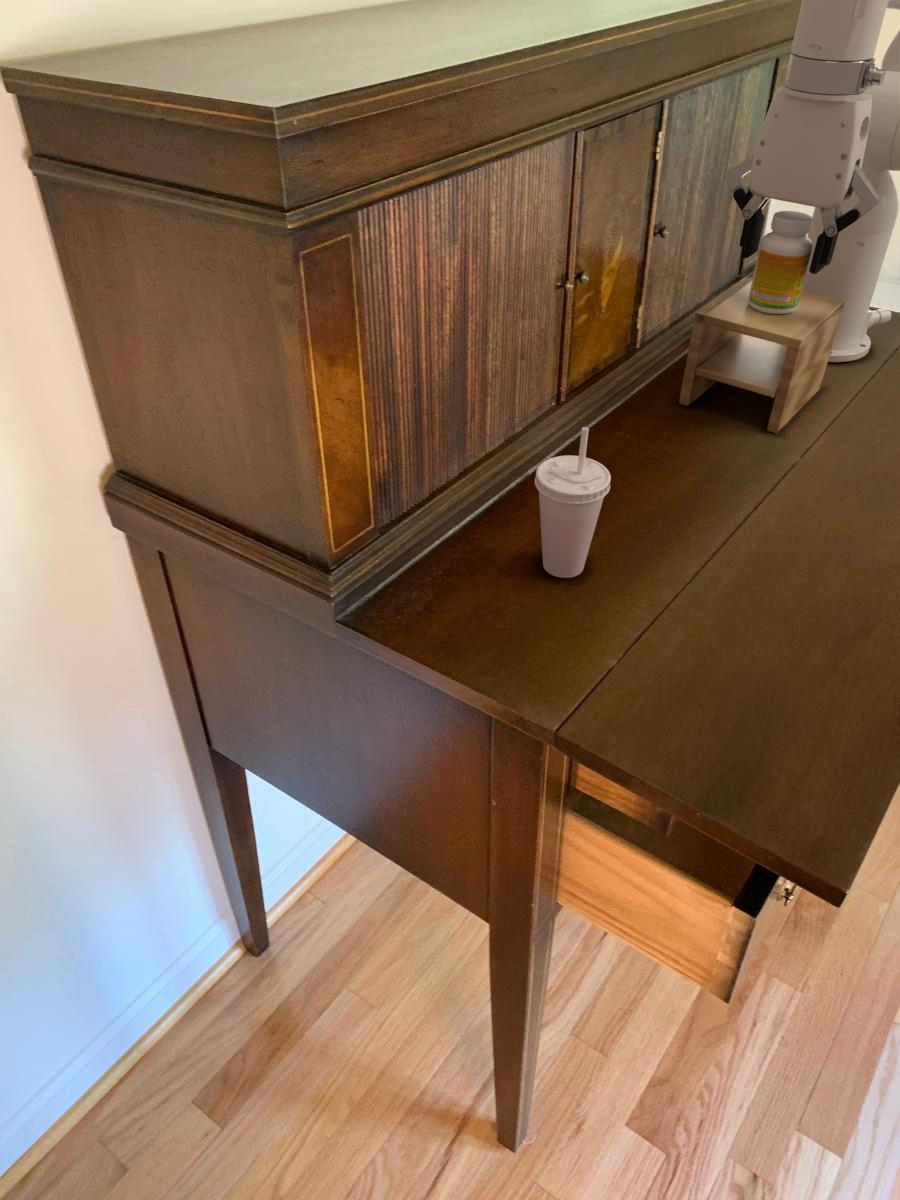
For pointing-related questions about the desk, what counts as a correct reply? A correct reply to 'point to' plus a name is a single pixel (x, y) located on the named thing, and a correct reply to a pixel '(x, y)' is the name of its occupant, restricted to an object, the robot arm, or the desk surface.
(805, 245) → the supplement bottle
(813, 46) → the robot arm
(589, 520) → the smoothie
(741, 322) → the shelf stand
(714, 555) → the desk surface
